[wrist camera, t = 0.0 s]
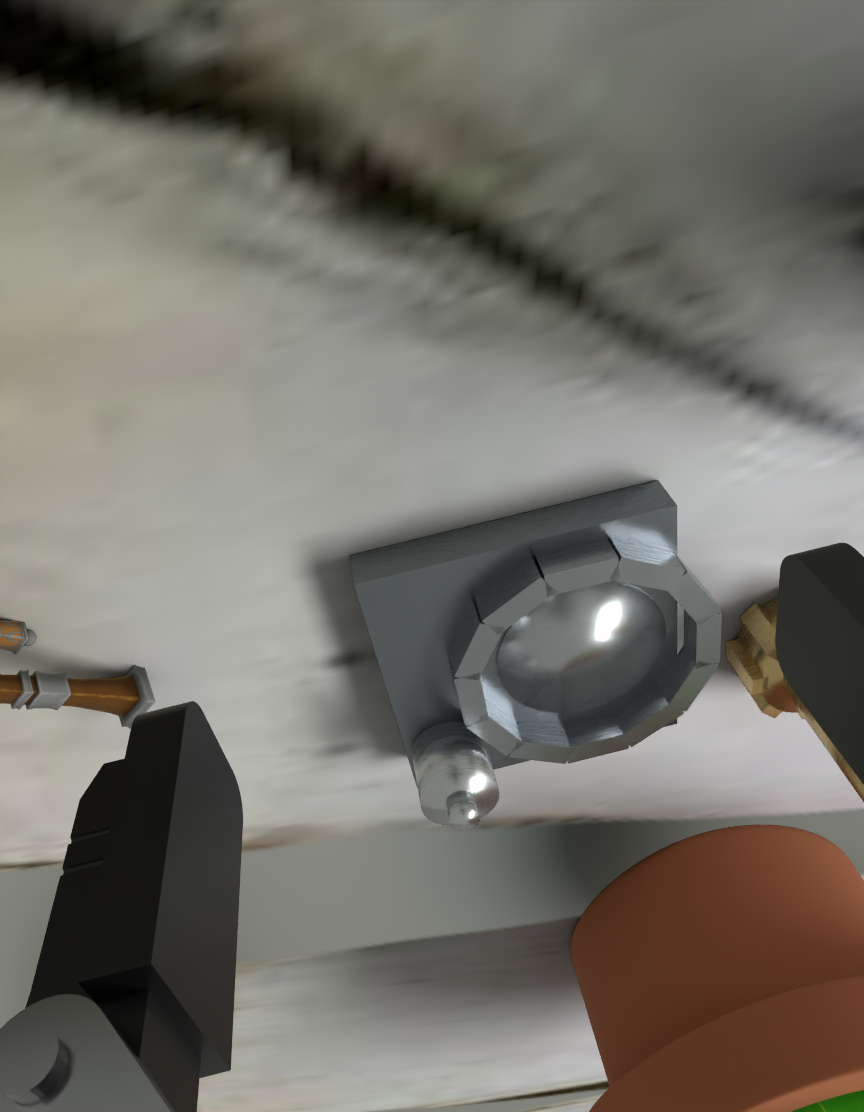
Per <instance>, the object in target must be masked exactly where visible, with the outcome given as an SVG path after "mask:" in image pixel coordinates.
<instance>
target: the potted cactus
mask: <svg viewBox="0 0 864 1112" xmlns="http://www.w3.org/2000/svg"><path fill="white" fill-rule="evenodd" d="M571 956H572V961H573V965H574V969H575V972H576V976H577V979H578V982H579V986H580V989H581V992H582V996H583V999H584V1002H585V1006H586V1009H587V1012H588V1016H589V1019H590V1022H591V1026H592V1029H593V1032H594V1036H595V1039H596V1042H597V1046H598V1049H599V1052H600V1056H601V1059H602V1062H603V1066H604V1069H605V1072H606V1076H607V1079H608V1082H609V1086H610V1088H609V1089H608V1090H607V1091H606V1092H605V1093H604V1094H603V1095H602V1096H601V1097H600V1098H599V1099H598V1101H597V1102H596V1103H595V1104H594V1106H593V1107H592V1108H591V1110H590V1111H589V1112H864V881H863V879H862V877H861V876H860V874H859V873H858V871H857V870H856V868H855V867H854V865H853V864H852V862H851V861H850V860H849V858H848V857H847V856H846V855H845V853H844V852H843V851H842V850H841V849H840V848H838V847H837V846H836V845H835V844H833V843H832V842H830V841H829V840H827V839H825V838H823V837H821V836H819V835H817V834H814V833H811V832H808V831H805V830H801V829H797V828H793V827H786V826H777V825H745V826H735V827H728V828H723V829H717V830H713V831H709V832H705V833H702V834H698V835H695V836H692V837H689V838H686V839H683V840H681V841H679V842H676V843H674V844H671V845H669V846H667V847H665V848H663V849H661V850H659V851H657V852H655V853H653V854H652V855H650V856H648V857H646V858H645V859H643V860H641V861H640V862H638V863H637V864H635V865H633V866H632V867H631V868H629V869H628V870H626V871H625V872H624V873H622V874H621V875H620V876H619V877H617V878H616V879H615V880H614V881H612V882H611V883H610V884H609V885H608V886H607V887H606V888H605V889H604V890H603V891H602V892H601V893H600V894H599V895H598V896H597V897H596V898H595V899H594V900H593V901H592V903H591V904H590V905H589V906H588V907H587V909H586V910H585V912H584V913H583V915H582V916H581V918H580V920H579V922H578V923H577V925H576V928H575V930H574V933H573V937H572V942H571Z"/></svg>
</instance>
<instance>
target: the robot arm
mask: <svg viewBox="0 0 864 1112" xmlns="http://www.w3.org/2000/svg"><path fill="white" fill-rule="evenodd" d="M775 648H776V654H777V658H778V662H779V665H780V668H781V670H782V673H783V675H784V677H785V679H786V681H787V682H788V684H789V685H790V687H791V688H792V690H793V691H794V692H795V694H796V695H797V696H798V698H799V699H800V700H801V702H802V703H803V704H804V706H805V707H806V708H807V710H808V711H809V712H810V714H811V715H812V716H813V718H814V719H815V720H816V722H817V723H818V724H819V726H820V727H821V728H822V730H823V731H824V732H825V734H826V735H827V736H828V738H829V739H830V740H831V742H832V743H833V744H834V746H835V747H836V748H837V750H838V751H839V752H840V754H841V755H842V756H843V758H844V759H845V761H846V762H847V763H848V765H849V766H850V767H851V769H852V770H853V771H854V773H855V774H856V775H857V777H858V778H859V779H860V781H861V782H862V783H863V785H864V557H863V556H862V555H861V554H860V553H859V552H858V551H857V550H856V549H854V548H853V547H852V546H850V545H849V544H846V543H837V544H833V545H829V546H825V547H821V548H817V549H813V550H809V551H805V552H801V553H797V554H793V555H789V556H787V557H785V558H784V559H783V561H782V564H781V568H780V579H779V593H778V607H777V620H776V634H775ZM242 829H243V810H242V802H241V796H240V791H239V787H238V784H237V780H236V778H235V775H234V773H233V771H232V769H231V767H230V765H229V763H228V761H227V759H226V757H225V755H224V753H223V751H222V749H221V747H220V745H219V743H218V741H217V739H216V737H215V735H214V733H213V731H212V729H211V727H210V725H209V723H208V721H207V719H206V717H205V715H204V713H203V711H202V710H201V708H200V706H199V705H198V704H197V703H196V702H194V701H191V702H187V703H183V704H179V705H175V706H171V707H167V708H163V709H159V710H155V711H151V712H147V713H143V714H139V715H137V716H136V717H135V719H134V721H133V723H132V727H131V732H130V736H129V741H128V746H127V751H126V755H125V759H122V760H118V761H114V762H109V763H105V764H103V766H102V767H101V769H100V770H99V772H98V773H97V775H96V776H95V778H94V779H93V781H92V782H91V784H90V785H89V787H88V788H87V790H86V791H85V793H84V794H83V796H82V797H81V799H80V801H79V805H78V809H77V813H76V817H75V821H74V825H73V829H72V833H71V836H70V837H71V841H72V842H71V844H68V848H67V852H66V856H65V860H64V864H63V871H64V874H63V875H62V876H60V879H59V884H58V887H57V891H56V895H55V899H54V903H53V907H52V911H51V915H50V919H49V922H48V926H47V930H46V934H45V938H44V942H43V946H42V950H41V953H40V958H39V961H38V965H37V969H36V973H35V977H34V981H33V985H32V988H31V992H30V996H29V999H28V1002H27V1005H26V1007H25V1009H24V1010H22V1011H21V1012H19V1013H18V1014H17V1015H15V1016H14V1017H13V1018H11V1019H10V1020H9V1021H8V1022H7V1023H6V1024H5V1025H4V1026H3V1027H2V1028H1V1029H0V1112H197V1100H198V1087H199V1078H202V1077H206V1076H210V1075H214V1074H218V1073H222V1072H225V1071H229V1070H231V1051H232V1031H233V1011H234V990H235V970H236V949H237V930H238V909H239V890H240V889H239V888H240V868H241V849H242Z"/></svg>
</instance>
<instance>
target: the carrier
mask: <svg viewBox="0 0 864 1112" xmlns="http://www.w3.org/2000/svg"><path fill="white" fill-rule="evenodd" d="M350 561H351V568H352V576H353V584H354V587H355V591H356V594H357V597H358V600H359V603H360V607H361V610H362V613H363V616H364V619H365V623H366V626H367V629H368V632H369V635H370V638H371V642H372V645H373V648H374V651H375V654H376V658H377V661H378V664H379V667H380V670H381V674H382V677H383V680H384V683H385V686H386V689H387V693H388V696H389V699H390V702H391V705H392V709H393V712H394V715H395V718H396V721H397V725H398V728H399V731H400V734H401V737H402V740H403V744H404V747H405V750H406V753H407V756H408V760H409V763H410V766H411V769H412V772H413V776H414V779H415V782H416V785H417V788H418V792H419V797H420V803H421V809H422V812H423V814H424V815H425V816H426V817H427V818H428V819H429V820H431V821H433V822H435V823H438V824H442V825H450V826H451V827H452V828H453V829H455V830H458V831H465V830H469V829H472V828H474V827H475V826H476V825H477V824H478V823H479V821H480V818H482V817H483V816H485V815H486V814H488V813H489V812H490V811H491V810H492V809H493V808H494V807H495V805H496V803H497V801H498V798H499V790H498V786H497V782H496V779H495V775H494V772H493V769H497V768H501V767H505V766H509V765H513V764H517V763H521V762H525V761H529V760H537V761H546V762H554V763H563V764H565V763H566V762H568V764H569V763H572V762H576V761H580V760H584V759H588V758H592V757H596V756H600V755H604V754H608V753H612V752H616V751H620V750H624V749H628V748H629V745H630V746H631V747H633V746H634V745H636V744H637V743H639V742H640V741H642V740H644V739H645V738H647V737H648V736H650V735H651V734H653V733H654V732H656V731H658V730H659V729H661V728H662V727H665V726H669V725H673V724H677V718H678V717H679V716H681V715H682V714H684V712H683V711H687V710H688V708H689V707H690V705H691V704H692V703H693V701H694V700H695V698H696V697H697V695H698V694H699V693H700V691H701V690H702V688H703V687H704V685H705V684H706V683H707V681H708V680H709V678H710V677H711V675H712V674H713V673H714V671H715V670H716V668H717V667H718V665H719V664H718V663H719V662H720V649H721V627H722V612H721V609H720V608H719V607H718V605H717V604H716V602H715V601H714V599H713V598H712V596H711V595H710V594H709V592H708V591H707V590H706V589H705V587H704V586H703V585H702V584H701V583H700V582H699V580H698V579H697V578H696V577H695V576H694V575H693V574H692V572H691V571H690V570H689V569H688V568H687V567H686V566H685V564H684V563H683V562H682V561H681V560H680V559H679V557H678V556H677V505H676V503H675V502H674V501H673V499H672V498H671V497H670V495H669V494H668V493H667V491H666V490H665V489H664V487H663V486H662V485H661V483H660V482H659V481H658V480H657V481H653V482H649V483H645V484H641V485H637V486H633V487H629V488H625V489H620V490H616V491H612V492H608V493H604V494H600V495H596V496H592V497H588V498H584V499H580V500H575V501H571V502H567V503H563V504H559V505H555V506H551V507H547V508H543V509H539V510H535V511H531V512H526V513H522V514H518V515H514V516H510V517H506V518H502V519H498V520H494V521H490V522H486V523H481V524H477V525H473V526H469V527H465V528H461V529H457V530H453V531H449V532H445V533H441V534H436V535H432V536H428V537H424V538H420V539H416V540H412V541H408V542H404V543H400V544H396V545H391V546H387V547H383V548H379V549H375V550H371V551H367V552H363V553H359V554H355V555H351V556H350ZM677 602H678V603H679V604H680V605H681V606H682V607H683V608H684V646H683V647H682V649H681V650H680V652H679V653H678V655H677Z"/></svg>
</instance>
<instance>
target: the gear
mask: <svg viewBox="0 0 864 1112" xmlns="http://www.w3.org/2000/svg"><path fill="white" fill-rule="evenodd" d="M777 607H778V598H776V599H774V600H772V601H770V602H768V603H767V604H765V605H764V606H762V607H761V606H759V605H757V604H755V603H754V604H753V605H752V606H751V607H750V608H749V609H748V610H747V611H746V612H745V613H744V614H743V615H741V616H740V618H741V620H742V621H743V623H744V626H743V627H742V629H741V631H740V633H739V635H738V638H737V639H735V640H731V641H727V644H726V657H727V658H728V660H729V661H730V663H731V664H732V666H733V667H734V669H735V670H736V672H737V675H738V676H739V678H740V680H741V681H742V683H743V684H744V686H745V687H746V689H747V690H748V692H749V693H750V695H751V696H752V698H753V699H754V701H755V702H756V704H757V705H758V707H759V709H760V710H761V712H763V713H765V714H767V715H769V716H771V717H773V718H776V717H777V716H778V715H779V714H780V713H781V712H783V711H785V712H797V713H798V714H799V716H800V717H801V718H802V719H805V720H806V721H807V722H808V724H809V725H810V727H811V728H812V729H813V731H814V732H815V734H816V735H817V736H818V738H819V739H820V741H821V742H822V744H823V745H824V746H825V748H826V749H827V751H828V752H829V753H830V755H831V756H832V758H833V759H834V761H835V762H836V763H837V765H838V766H839V768H840V769H841V770H842V772H843V773H844V775H845V776H846V778H847V779H848V780H849V782H850V783H851V785H852V786H853V787H854V789H855V790H856V792H857V793H858V795H859V796H860V797H861V799H862V800H863V802H864V785H863V783H862V782H861V781H860V779H859V778H858V777H857V775H856V774H855V773H854V771H853V770H852V769H851V767H850V766H849V765H848V763H847V762H846V761H845V759H844V758H843V756H842V755H841V754H840V752H839V751H838V750H837V748H836V747H835V746H834V744H833V743H832V742H831V740H830V739H829V738H828V736H827V735H826V734H825V732H824V731H823V730H822V728H821V727H820V726H819V724H818V723H817V722H816V720H815V719H814V718H813V716H812V715H811V714H810V712H809V711H808V710H807V708H806V707H805V706H804V704H803V703H802V702H801V700H800V699H799V698H798V696H797V695H796V694H795V692H794V691H793V690H792V688H791V687H790V685H789V684H788V682H787V681H786V679H785V677H784V675H783V673H782V670H781V668H780V665H779V662H778V658H777V654H776V648H775V634H776V620H777Z"/></svg>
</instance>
